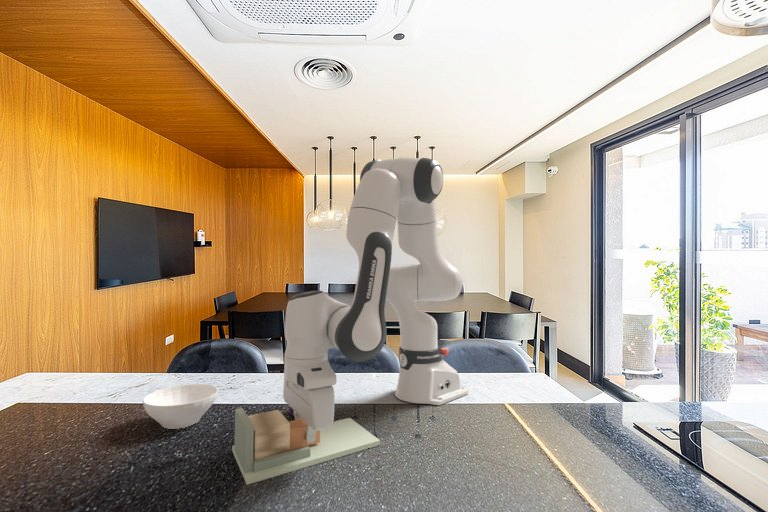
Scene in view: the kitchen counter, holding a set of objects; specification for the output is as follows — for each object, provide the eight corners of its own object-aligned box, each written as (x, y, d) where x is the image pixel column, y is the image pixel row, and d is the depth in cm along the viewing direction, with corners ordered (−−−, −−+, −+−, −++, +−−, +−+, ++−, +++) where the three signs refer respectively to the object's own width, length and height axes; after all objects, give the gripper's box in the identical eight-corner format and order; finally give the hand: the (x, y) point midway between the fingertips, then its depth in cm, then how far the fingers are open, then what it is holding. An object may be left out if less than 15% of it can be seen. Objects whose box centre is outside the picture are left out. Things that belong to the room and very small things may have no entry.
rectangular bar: (313, 435, 78) (313, 416, 78) (320, 442, 75) (320, 422, 75) (255, 449, 72) (256, 428, 72) (260, 458, 68) (260, 436, 68)
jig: (350, 421, 88) (350, 384, 89) (379, 445, 77) (380, 401, 77) (232, 450, 74) (233, 406, 74) (246, 484, 62) (247, 431, 63)
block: (277, 441, 76) (278, 409, 76) (289, 457, 69) (290, 423, 70) (245, 449, 73) (246, 416, 73) (254, 467, 66) (255, 430, 66)
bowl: (228, 422, 88) (229, 393, 88) (153, 445, 76) (154, 411, 76) (203, 405, 99) (203, 380, 99) (133, 423, 87) (134, 394, 87)
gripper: (276, 360, 83) (275, 421, 82) (308, 383, 65) (308, 461, 65) (303, 357, 86) (302, 416, 85) (340, 378, 69) (339, 452, 68)
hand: (305, 436), depth 75 cm, fingers closed on rectangular bar, 4 cm apart
